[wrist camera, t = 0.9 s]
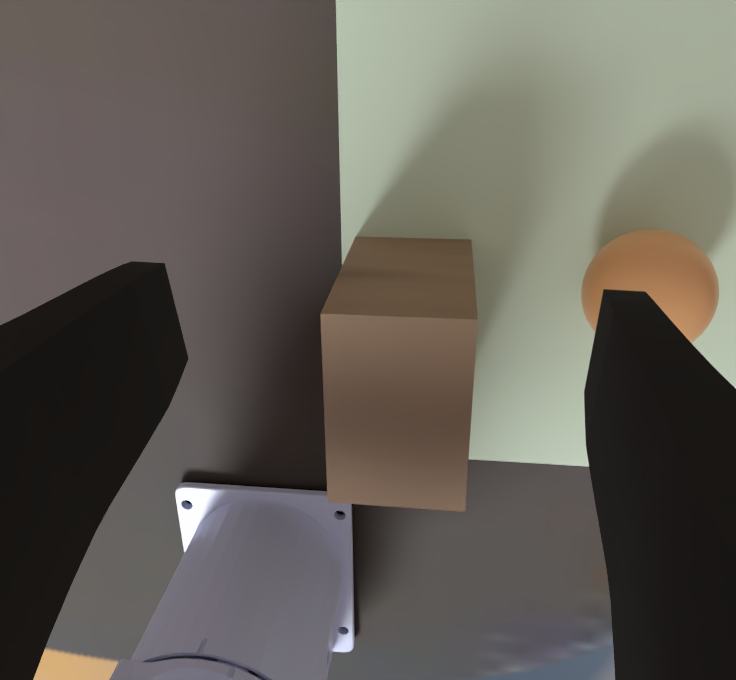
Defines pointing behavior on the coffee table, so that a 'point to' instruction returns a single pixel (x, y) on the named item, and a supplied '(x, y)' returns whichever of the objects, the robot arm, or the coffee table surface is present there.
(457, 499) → the tall cardboard box
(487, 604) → the coffee table surface
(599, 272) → the ball
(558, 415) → the pitch
